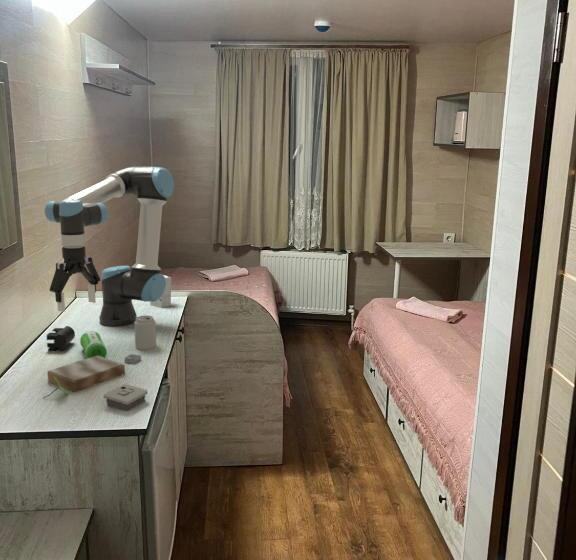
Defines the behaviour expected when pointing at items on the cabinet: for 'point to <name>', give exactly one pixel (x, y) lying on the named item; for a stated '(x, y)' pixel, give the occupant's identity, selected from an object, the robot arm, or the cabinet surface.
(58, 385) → the seedling
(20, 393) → the cabinet surface
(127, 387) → the electrical switch
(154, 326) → the can
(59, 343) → the end cap
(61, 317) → the cabinet surface
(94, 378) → the stand
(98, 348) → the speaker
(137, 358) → the grey square block
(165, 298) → the skincare box
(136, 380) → the cabinet surface
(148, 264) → the robot arm
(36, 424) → the cabinet surface
